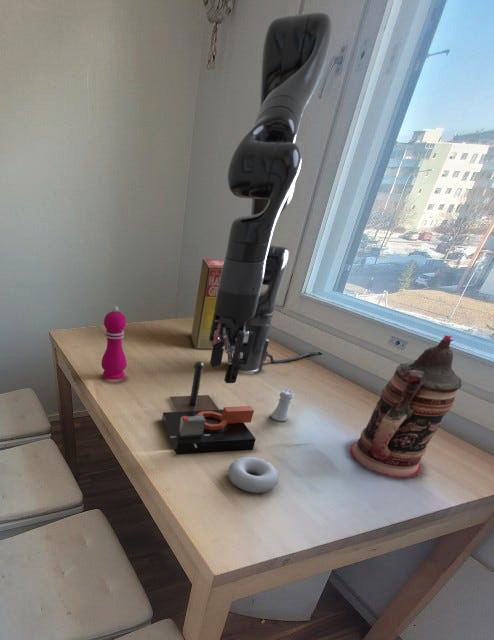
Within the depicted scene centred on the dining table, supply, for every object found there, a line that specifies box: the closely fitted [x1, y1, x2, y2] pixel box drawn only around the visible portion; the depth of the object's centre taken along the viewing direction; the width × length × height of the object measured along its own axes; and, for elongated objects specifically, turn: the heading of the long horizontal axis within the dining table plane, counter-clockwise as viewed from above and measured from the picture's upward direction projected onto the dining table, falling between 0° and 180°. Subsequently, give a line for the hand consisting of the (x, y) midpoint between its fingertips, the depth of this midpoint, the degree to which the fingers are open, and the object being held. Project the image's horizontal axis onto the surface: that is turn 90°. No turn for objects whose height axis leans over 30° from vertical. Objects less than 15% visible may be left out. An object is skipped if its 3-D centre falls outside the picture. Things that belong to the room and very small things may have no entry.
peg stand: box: [169, 360, 220, 412], centre depth 105 cm, size 11×10×12 cm
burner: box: [194, 415, 230, 433], centre depth 97 cm, size 9×9×1 cm
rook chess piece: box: [270, 389, 295, 422], centre depth 102 cm, size 4×4×8 cm
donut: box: [227, 456, 280, 494], centre depth 84 cm, size 10×4×10 cm
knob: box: [178, 416, 205, 439], centre depth 90 cm, size 5×2×5 cm, turn 99°
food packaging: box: [190, 258, 225, 350], centre depth 138 cm, size 13×9×25 cm
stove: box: [161, 409, 257, 456], centre depth 96 cm, size 19×16×3 cm
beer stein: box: [349, 335, 463, 480], centre depth 85 cm, size 17×28×18 cm
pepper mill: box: [100, 305, 128, 381], centre depth 115 cm, size 7×7×20 cm
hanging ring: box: [196, 405, 255, 430], centre depth 96 cm, size 13×7×3 cm, turn 99°
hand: (221, 373), depth 85 cm, fingers open, 8 cm apart
